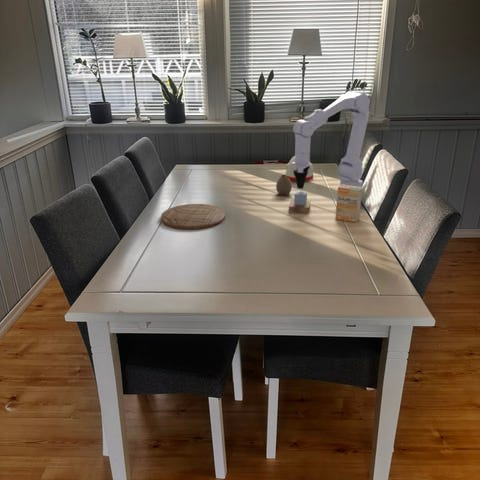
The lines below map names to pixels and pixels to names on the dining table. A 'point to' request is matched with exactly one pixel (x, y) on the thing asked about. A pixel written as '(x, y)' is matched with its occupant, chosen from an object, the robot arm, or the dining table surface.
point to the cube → (300, 198)
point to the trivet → (193, 216)
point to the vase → (284, 185)
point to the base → (299, 207)
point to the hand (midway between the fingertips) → (301, 185)
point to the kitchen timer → (291, 168)
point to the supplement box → (348, 203)
